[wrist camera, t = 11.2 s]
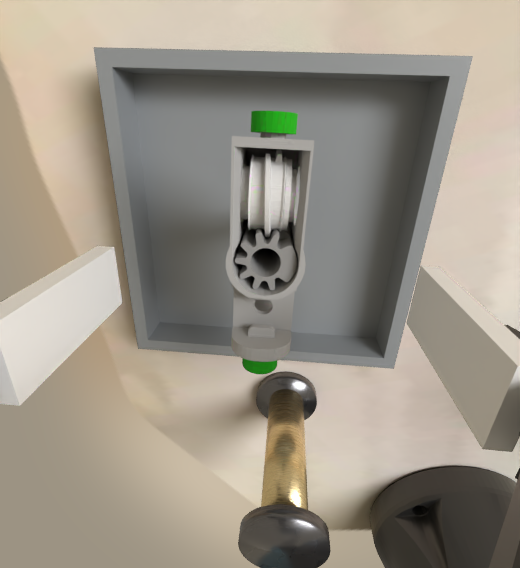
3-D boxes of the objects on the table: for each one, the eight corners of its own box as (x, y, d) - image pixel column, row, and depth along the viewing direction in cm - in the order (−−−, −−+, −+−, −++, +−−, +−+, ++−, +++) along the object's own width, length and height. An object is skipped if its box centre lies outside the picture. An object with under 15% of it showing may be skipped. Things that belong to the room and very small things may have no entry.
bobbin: (312, 419, 30) (324, 577, 19) (256, 414, 30) (238, 567, 20) (318, 374, 28) (335, 525, 17) (258, 369, 28) (238, 515, 18)
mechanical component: (243, 284, 24) (224, 375, 15) (249, 123, 20) (227, 108, 11) (286, 287, 24) (293, 380, 15) (300, 126, 20) (322, 113, 11)
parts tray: (382, 343, 26) (393, 368, 23) (153, 326, 27) (138, 348, 24) (445, 66, 18) (472, 56, 16) (121, 58, 19) (93, 47, 17)
